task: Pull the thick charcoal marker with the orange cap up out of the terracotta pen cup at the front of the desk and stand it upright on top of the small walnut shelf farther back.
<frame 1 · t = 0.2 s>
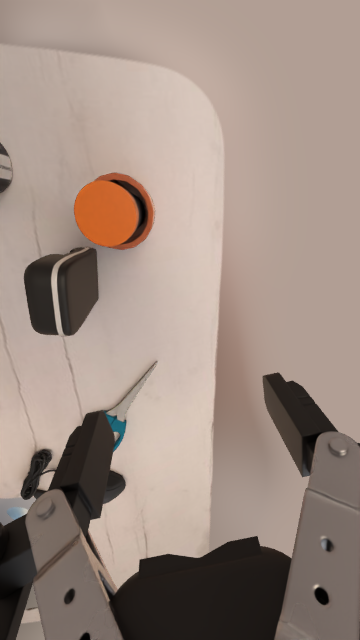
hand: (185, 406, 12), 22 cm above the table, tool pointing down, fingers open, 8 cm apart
scissors: (122, 405, 40), on the table
marker: (127, 212, 28), point 1 cm above the table, touching pen cup
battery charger: (83, 273, 31), on the table
computer mouse: (74, 480, 47), on the table
pen cup: (127, 212, 29), on the table
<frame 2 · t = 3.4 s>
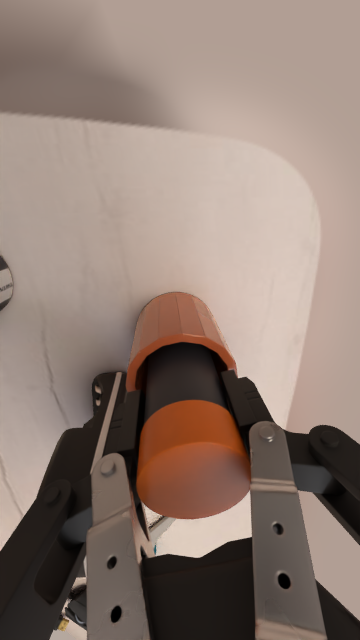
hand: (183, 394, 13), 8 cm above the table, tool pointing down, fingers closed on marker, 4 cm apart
scissors: (152, 529, 32), on the table
marker: (176, 331, 20), point 1 cm above the table, touching gripper, pen cup
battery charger: (109, 398, 23), on the table
computer mouse: (88, 599, 38), on the table
pen cup: (175, 328, 20), on the table
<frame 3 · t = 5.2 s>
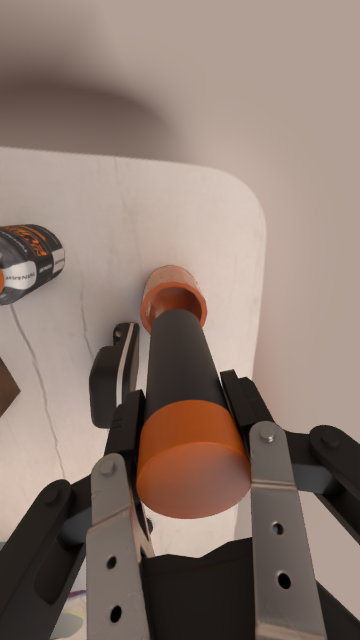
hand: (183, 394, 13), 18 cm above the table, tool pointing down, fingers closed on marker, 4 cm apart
marker: (176, 331, 20), point 11 cm above the table, touching gripper
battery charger: (124, 344, 32), on the table
pen cup: (171, 291, 30), on the table
pill bottle: (38, 252, 27), on the table
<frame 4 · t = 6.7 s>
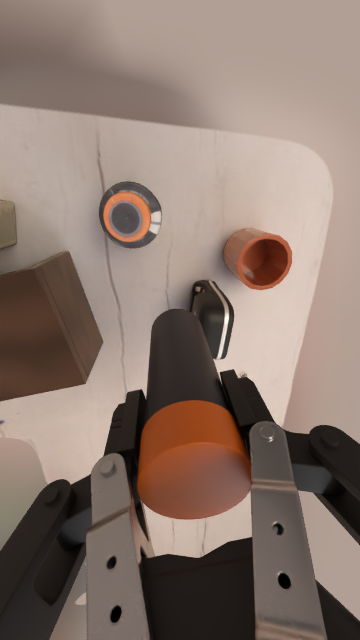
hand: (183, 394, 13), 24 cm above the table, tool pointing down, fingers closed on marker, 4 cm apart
shelf: (46, 308, 36), on the table
marker: (176, 332, 20), point 17 cm above the table, touching gripper
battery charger: (198, 300, 37), on the table
pen cup: (245, 252, 34), on the table
pill bottle: (138, 214, 32), on the table
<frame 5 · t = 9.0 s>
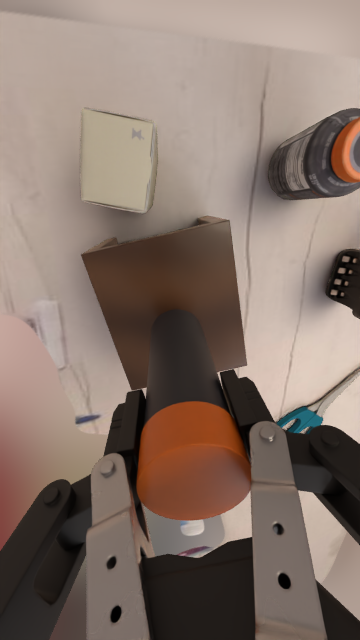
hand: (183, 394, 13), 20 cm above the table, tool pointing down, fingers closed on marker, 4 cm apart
shelf: (170, 285, 32), on the table
scissors: (322, 400, 42), on the table
box: (135, 181, 27), on the table
marker: (176, 332, 20), point 13 cm above the table, touching gripper
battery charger: (337, 273, 33), on the table
pill bottle: (292, 170, 27), on the table
when the fingers open (17 cm above the table, at t = 10.4 s): marker stays where it is, resting on shelf.
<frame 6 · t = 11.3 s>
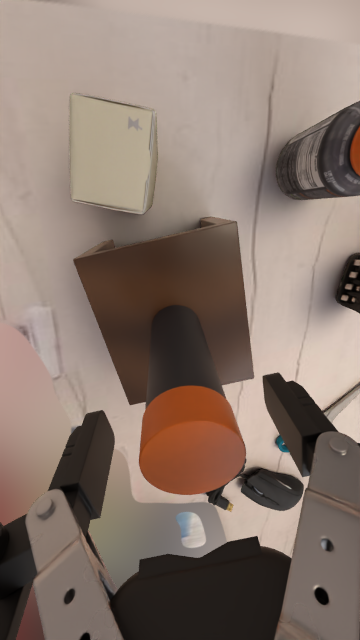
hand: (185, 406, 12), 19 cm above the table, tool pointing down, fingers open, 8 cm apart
shelf: (171, 290, 30), on the table
scissors: (329, 410, 40), on the table
box: (134, 179, 25), on the table
marker: (176, 327, 21), point 10 cm above the table, touching shelf
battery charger: (348, 278, 31), on the table
computer mouse: (251, 485, 46), on the table
pill bottle: (302, 167, 26), on the table
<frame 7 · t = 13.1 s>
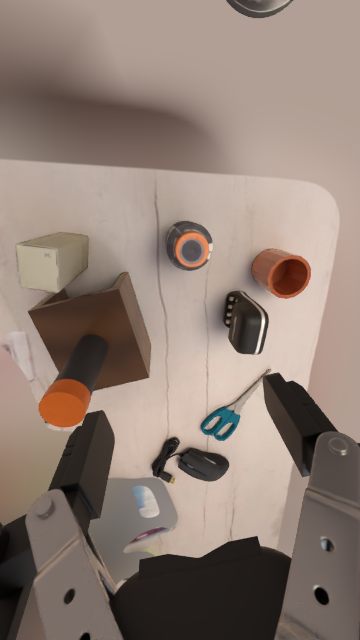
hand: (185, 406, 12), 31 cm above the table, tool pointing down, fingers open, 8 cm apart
shelf: (107, 318, 44), on the table
scissors: (238, 402, 53), on the table
box: (74, 251, 39), on the table
marker: (93, 347, 34), point 10 cm above the table, touching shelf
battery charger: (230, 308, 45), on the table
computer mouse: (188, 463, 60), on the table
pen cup: (269, 267, 42), on the table
pill bottle: (184, 240, 40), on the table
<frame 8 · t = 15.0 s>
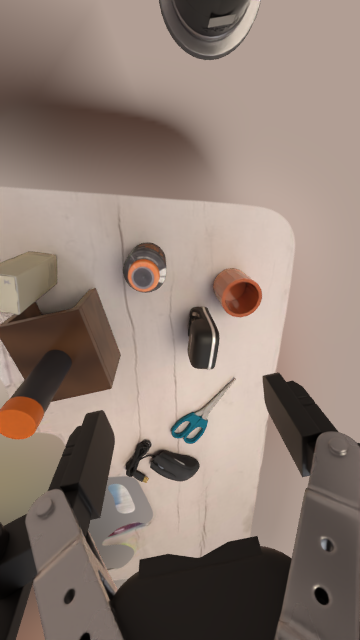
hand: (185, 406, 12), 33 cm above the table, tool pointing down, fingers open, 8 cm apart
shelf: (77, 330, 46), on the table
scissors: (206, 408, 56), on the table
box: (44, 268, 42), on the table
marker: (57, 361, 37), point 10 cm above the table, touching shelf
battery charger: (195, 321, 47), on the table
computer mouse: (161, 463, 63), on the table
pen cup: (230, 285, 45), on the table
pill bottle: (148, 260, 42), on the table
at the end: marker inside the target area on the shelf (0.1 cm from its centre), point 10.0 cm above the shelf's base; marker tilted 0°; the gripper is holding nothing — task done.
